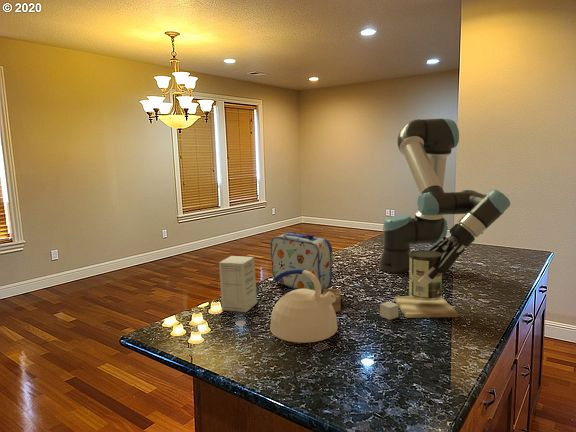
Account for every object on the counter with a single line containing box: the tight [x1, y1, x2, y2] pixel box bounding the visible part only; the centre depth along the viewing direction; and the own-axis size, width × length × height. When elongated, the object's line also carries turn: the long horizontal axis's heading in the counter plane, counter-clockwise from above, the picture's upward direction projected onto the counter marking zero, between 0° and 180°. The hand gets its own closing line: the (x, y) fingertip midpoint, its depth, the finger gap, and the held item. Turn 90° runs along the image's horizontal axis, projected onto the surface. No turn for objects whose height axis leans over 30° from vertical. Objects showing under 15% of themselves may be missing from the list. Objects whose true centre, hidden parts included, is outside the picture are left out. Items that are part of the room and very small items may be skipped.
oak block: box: [322, 288, 341, 297], centre depth 142 cm, size 5×6×4 cm
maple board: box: [394, 295, 459, 319], centre depth 134 cm, size 16×16×1 cm
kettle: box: [269, 269, 339, 344], centre depth 120 cm, size 20×21×18 cm
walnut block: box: [321, 292, 342, 313], centre depth 135 cm, size 5×5×5 cm
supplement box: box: [218, 255, 258, 313], centre depth 139 cm, size 10×9×17 cm
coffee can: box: [408, 249, 443, 300], centre depth 132 cm, size 10×10×14 cm
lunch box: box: [270, 231, 336, 291], centre depth 156 cm, size 28×10×22 cm, turn 47°
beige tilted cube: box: [379, 300, 400, 321], centre depth 128 cm, size 4×4×4 cm
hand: (416, 279), depth 132 cm, fingers closed on coffee can, 10 cm apart
